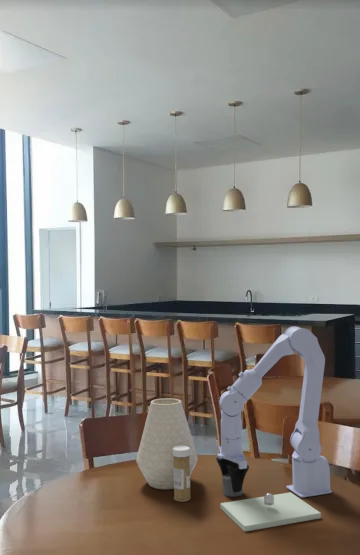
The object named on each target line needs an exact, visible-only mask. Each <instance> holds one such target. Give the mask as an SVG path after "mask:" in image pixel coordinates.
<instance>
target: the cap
mask: <svg viewBox="0 0 360 555" xmlns="http://www.w3.org/2000/svg"><path fill="white" fill-rule="evenodd" d="M243 487H244V486H243V485H242V490H241V492H233V489H232V483H231V477H230V473H226V474H224V475H223V477H222V494H223V495H224V496H226V497H231V498H235V497H236V498H237V497H241V496H242V495H243V491H244V490H243Z"/></svg>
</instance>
